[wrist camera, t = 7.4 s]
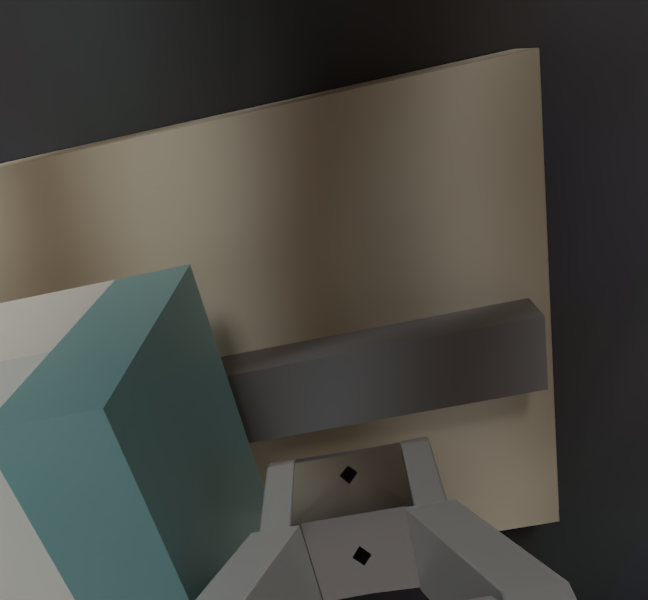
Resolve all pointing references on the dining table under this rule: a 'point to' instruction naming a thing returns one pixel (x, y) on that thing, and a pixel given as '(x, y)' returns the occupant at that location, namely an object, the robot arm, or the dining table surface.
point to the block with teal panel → (119, 444)
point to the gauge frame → (340, 265)
